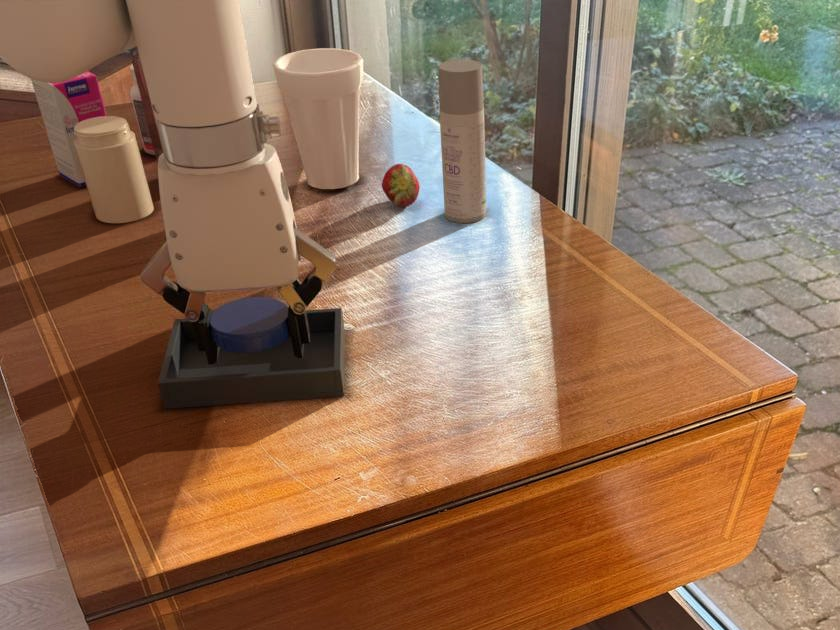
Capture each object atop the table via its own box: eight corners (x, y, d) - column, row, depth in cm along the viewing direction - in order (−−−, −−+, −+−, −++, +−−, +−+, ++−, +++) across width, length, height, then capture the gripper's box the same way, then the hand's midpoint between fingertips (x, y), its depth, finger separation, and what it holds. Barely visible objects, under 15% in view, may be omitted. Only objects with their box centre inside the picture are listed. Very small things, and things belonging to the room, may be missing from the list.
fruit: (417, 193, 115) (414, 148, 111) (423, 213, 111) (420, 167, 107) (381, 196, 115) (377, 151, 111) (386, 216, 110) (382, 170, 107)
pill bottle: (193, 150, 127) (174, 66, 120) (153, 160, 125) (132, 74, 118) (177, 139, 130) (157, 56, 123) (138, 148, 128) (116, 64, 121)
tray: (165, 409, 83) (157, 383, 81) (181, 344, 91) (174, 318, 89) (344, 396, 84) (340, 370, 82) (345, 332, 92) (341, 307, 90)
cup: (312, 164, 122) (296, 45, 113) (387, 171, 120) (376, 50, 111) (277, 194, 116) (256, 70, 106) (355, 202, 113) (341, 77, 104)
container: (441, 222, 109) (433, 72, 98) (448, 205, 112) (441, 58, 101) (483, 223, 108) (479, 72, 98) (489, 207, 112) (486, 58, 101)
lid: (207, 355, 82) (202, 336, 81) (218, 317, 87) (213, 298, 86) (290, 350, 83) (286, 332, 81) (296, 312, 88) (293, 294, 86)
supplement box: (81, 189, 119) (49, 84, 110) (59, 176, 122) (26, 73, 114) (124, 176, 121) (96, 72, 113) (102, 163, 124) (73, 62, 116)
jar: (90, 225, 111) (63, 136, 104) (101, 202, 115) (75, 116, 109) (149, 221, 111) (126, 132, 104) (157, 199, 116) (135, 112, 109)
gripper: (328, 114, 77) (355, 326, 89) (103, 128, 76) (163, 340, 89) (326, 147, 71) (355, 368, 84) (85, 163, 71) (151, 383, 83)
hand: (256, 352), depth 86 cm, fingers closed on lid, 6 cm apart
